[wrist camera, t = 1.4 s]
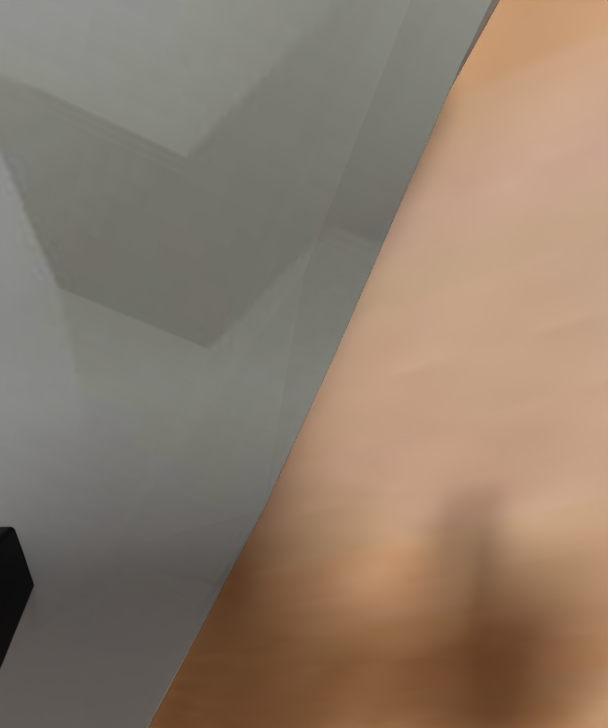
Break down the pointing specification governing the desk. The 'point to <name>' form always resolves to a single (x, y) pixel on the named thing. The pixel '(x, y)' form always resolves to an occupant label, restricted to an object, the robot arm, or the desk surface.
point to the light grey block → (180, 297)
